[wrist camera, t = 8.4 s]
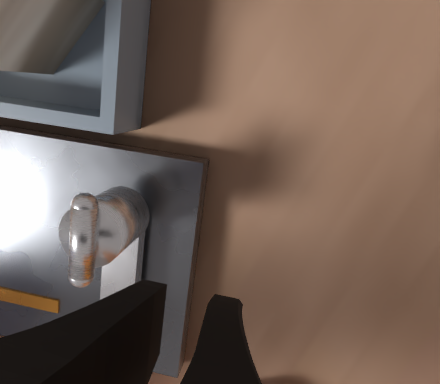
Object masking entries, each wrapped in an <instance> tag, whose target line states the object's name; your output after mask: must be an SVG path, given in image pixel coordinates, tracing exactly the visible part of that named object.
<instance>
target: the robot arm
mask: <svg viewBox="0 0 440 384" xmlns="http://www.w3.org/2000/svg"><path fill="white" fill-rule="evenodd" d="M166 291H167V284H164V283H159V282H154V281H150V280H145V279H144V280H142V281H139V282H137V283H134V284H132V285H130V286H128V287H126V288H124V289H122V290H120V291H118V292H116V293H113V294H111V295H109V296H107V297H105V298H103V299H101V300H99V301H97V302H94V303H92V304H90V305H88V306H86V307H83V308H81V309H79V310H76V311H74V312H71V313H69V314H67V315H64V316H62V317H59V318H57V319H54V320H52V321H50V322H47V323H44V324H42V325H39V326H36V327H33V328H30V329H27V330H24V331H21V332H18V333H15V334H11V335H8V336H5V337H2V338H0V384H148V382H149V379H150V377H151V374H152V372H153V369H154V367H155V364H156V362H157V359H158V357H159V354H160V347H161V338H162V328H163V319H164V310H165V300H166ZM242 306H243V304H242V303H241V301H240V300H239V299H236V298H231V297H226V296H221V295H216V294H215V295H214V296H213V297H212V299H211V300H210V302H209V303H208V306H207V309H206V313H205V317H204V320H203V324H202V328H201V331H200V335H199V339H198V343H197V346H196V350H195V353H194V356H193V358H192V361H191V363H190V365H189V367H188V369H187V371H186V373H185V375H184V377H183V379H182V381H181V383H180V384H262V383H261V381H260V378H259V376H258V373H257V371H256V368H255V365H254V363H253V360H252V357H251V354H250V350H249V347H248V343H247V339H246V336H245V331H244V326H243V320H242Z"/></svg>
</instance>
